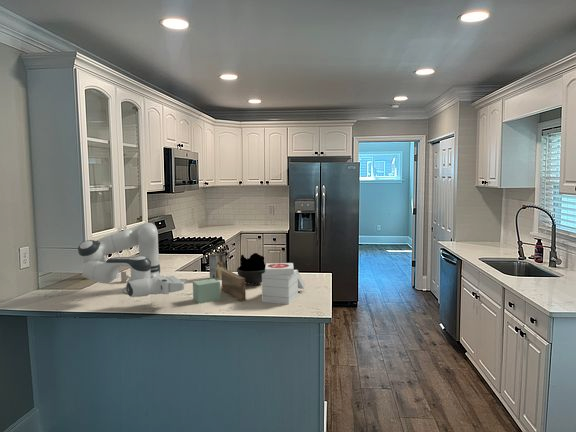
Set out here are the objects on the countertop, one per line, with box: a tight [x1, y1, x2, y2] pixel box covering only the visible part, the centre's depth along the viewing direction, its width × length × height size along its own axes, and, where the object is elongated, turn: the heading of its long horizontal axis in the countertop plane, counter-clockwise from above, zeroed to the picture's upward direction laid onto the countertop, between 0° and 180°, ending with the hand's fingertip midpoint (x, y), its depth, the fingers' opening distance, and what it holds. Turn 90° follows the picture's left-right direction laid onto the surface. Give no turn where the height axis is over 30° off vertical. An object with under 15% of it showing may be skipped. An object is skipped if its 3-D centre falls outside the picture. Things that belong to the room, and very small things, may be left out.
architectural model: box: [120, 270, 131, 284], centre depth 277 cm, size 3×7×7 cm, turn 52°
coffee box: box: [208, 252, 227, 281], centre depth 282 cm, size 9×6×16 cm
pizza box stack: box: [261, 262, 306, 305], centre depth 238 cm, size 19×30×18 cm, turn 160°
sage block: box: [192, 278, 221, 304], centre depth 234 cm, size 12×9×10 cm
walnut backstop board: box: [221, 269, 247, 302], centre depth 242 cm, size 3×26×12 cm, turn 30°
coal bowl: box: [236, 252, 266, 286], centre depth 266 cm, size 20×20×19 cm
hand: (187, 280), depth 227 cm, fingers closed
